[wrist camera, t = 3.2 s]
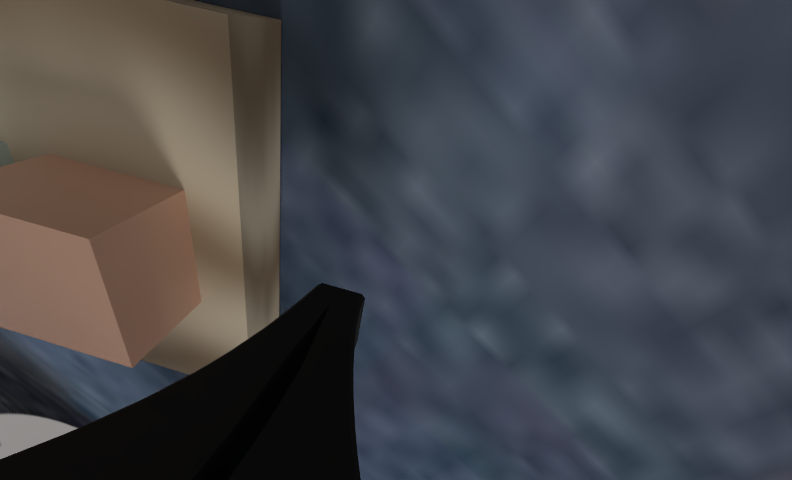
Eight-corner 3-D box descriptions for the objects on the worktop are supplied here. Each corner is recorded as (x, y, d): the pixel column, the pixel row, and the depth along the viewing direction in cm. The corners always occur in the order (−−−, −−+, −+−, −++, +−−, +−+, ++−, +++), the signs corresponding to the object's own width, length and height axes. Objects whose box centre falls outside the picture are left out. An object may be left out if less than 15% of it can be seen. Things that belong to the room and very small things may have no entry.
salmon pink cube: (201, 301, 13) (132, 368, 10) (90, 269, 13) (-4, 325, 10) (184, 189, 10) (88, 239, 8) (49, 153, 11) (-86, 190, 8)
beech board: (278, 349, 17) (251, 393, 15) (27, 275, 18) (-33, 306, 16) (281, 20, 10) (227, 14, 8) (-142, -75, 11) (-293, -103, 9)
